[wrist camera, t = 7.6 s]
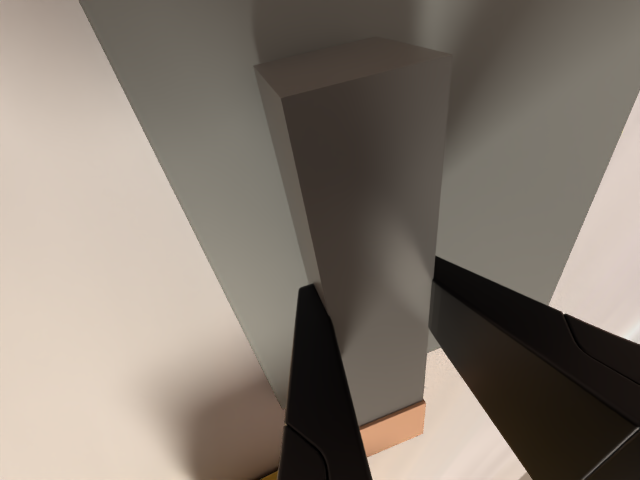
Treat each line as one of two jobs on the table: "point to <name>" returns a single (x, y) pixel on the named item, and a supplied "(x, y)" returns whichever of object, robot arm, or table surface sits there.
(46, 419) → the table surface
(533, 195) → the slate board
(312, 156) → the block
